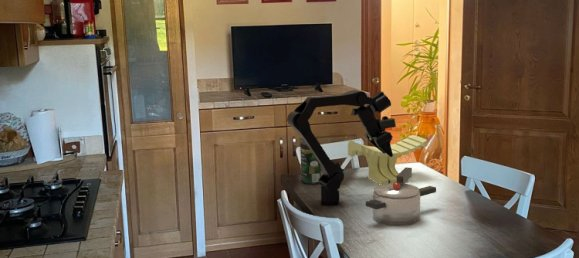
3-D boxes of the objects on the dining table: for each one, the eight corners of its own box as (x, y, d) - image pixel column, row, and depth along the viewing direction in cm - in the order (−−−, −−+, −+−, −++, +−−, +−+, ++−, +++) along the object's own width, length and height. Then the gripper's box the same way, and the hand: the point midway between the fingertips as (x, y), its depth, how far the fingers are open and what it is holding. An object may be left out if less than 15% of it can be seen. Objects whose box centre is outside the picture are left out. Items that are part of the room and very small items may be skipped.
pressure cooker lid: (413, 200, 193) (414, 187, 192) (368, 196, 199) (368, 183, 198) (429, 180, 217) (429, 169, 216) (388, 177, 223) (388, 166, 222)
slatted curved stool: (410, 172, 269) (410, 133, 266) (426, 180, 254) (427, 139, 251) (348, 177, 261) (347, 138, 258) (361, 186, 246) (361, 144, 243)
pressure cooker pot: (388, 231, 191) (388, 205, 190) (354, 219, 204) (354, 194, 202) (450, 212, 209) (451, 188, 208) (416, 202, 222) (416, 179, 220)
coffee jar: (298, 179, 260) (297, 138, 257) (315, 178, 262) (314, 137, 259) (305, 185, 251) (304, 142, 248) (323, 183, 253) (322, 140, 250)
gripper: (394, 110, 215) (414, 147, 218) (380, 107, 234) (399, 141, 236) (368, 126, 215) (388, 162, 217) (356, 121, 233) (375, 155, 236)
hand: (388, 154), depth 227 cm, fingers open, 9 cm apart
